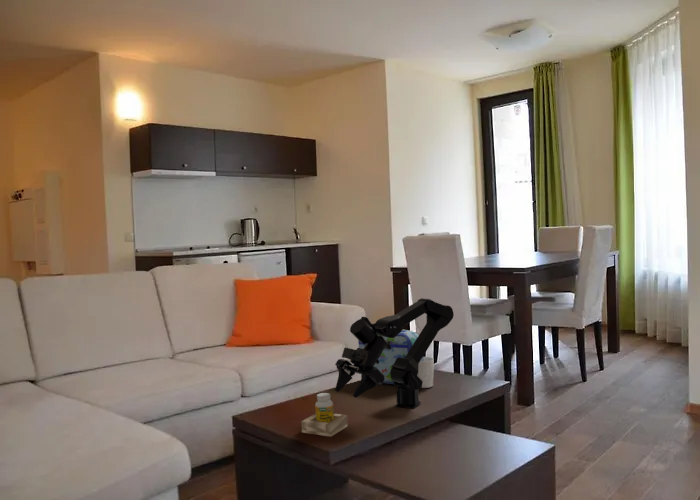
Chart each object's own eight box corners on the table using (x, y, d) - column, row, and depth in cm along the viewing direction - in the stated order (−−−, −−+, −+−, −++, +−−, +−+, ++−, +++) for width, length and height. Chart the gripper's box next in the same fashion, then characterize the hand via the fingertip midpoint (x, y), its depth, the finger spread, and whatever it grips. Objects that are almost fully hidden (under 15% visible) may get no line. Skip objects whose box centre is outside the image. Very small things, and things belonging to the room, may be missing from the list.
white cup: (437, 383, 227) (436, 357, 227) (430, 389, 220) (429, 362, 220) (417, 382, 231) (416, 356, 230) (410, 387, 224) (409, 360, 223)
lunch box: (355, 380, 238) (353, 327, 237) (372, 374, 246) (370, 323, 245) (410, 390, 221) (408, 332, 220) (426, 383, 229) (424, 328, 228)
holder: (347, 426, 184) (347, 415, 184) (330, 436, 175) (330, 425, 175) (319, 422, 189) (318, 411, 189) (301, 432, 180) (301, 421, 180)
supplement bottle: (332, 422, 185) (330, 391, 185) (336, 427, 180) (334, 395, 180) (314, 424, 184) (313, 393, 184) (318, 430, 179) (316, 397, 178)
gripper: (338, 333, 197) (311, 373, 190) (375, 341, 182) (347, 384, 175) (358, 354, 202) (333, 393, 195) (396, 362, 187) (370, 405, 181)
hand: (345, 394), depth 187 cm, fingers open, 9 cm apart
